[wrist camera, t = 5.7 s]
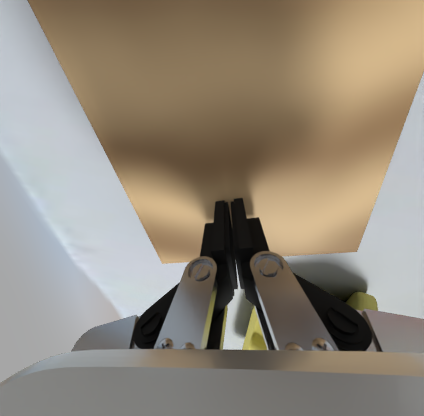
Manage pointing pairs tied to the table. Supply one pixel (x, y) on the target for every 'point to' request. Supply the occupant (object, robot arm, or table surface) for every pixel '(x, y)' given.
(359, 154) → the oak plank
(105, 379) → the robot arm
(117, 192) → the table surface
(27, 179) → the table surface
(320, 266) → the table surface
